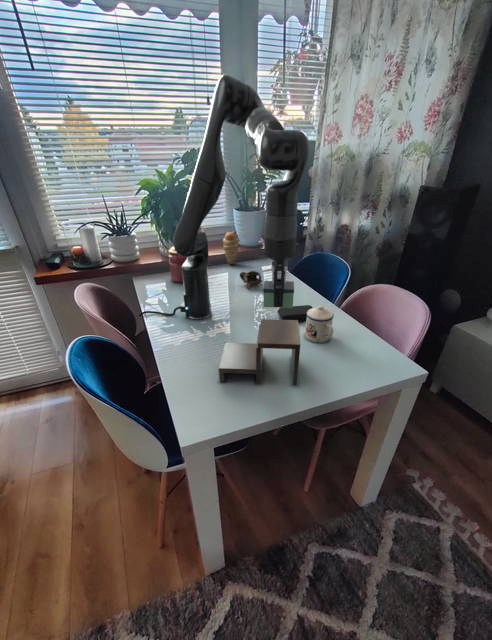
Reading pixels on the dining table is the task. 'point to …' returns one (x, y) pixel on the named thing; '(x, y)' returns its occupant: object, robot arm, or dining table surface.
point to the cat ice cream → (230, 246)
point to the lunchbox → (287, 294)
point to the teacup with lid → (319, 324)
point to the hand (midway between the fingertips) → (278, 301)
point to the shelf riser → (251, 355)
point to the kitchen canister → (176, 265)
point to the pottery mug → (251, 278)
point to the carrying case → (294, 313)
